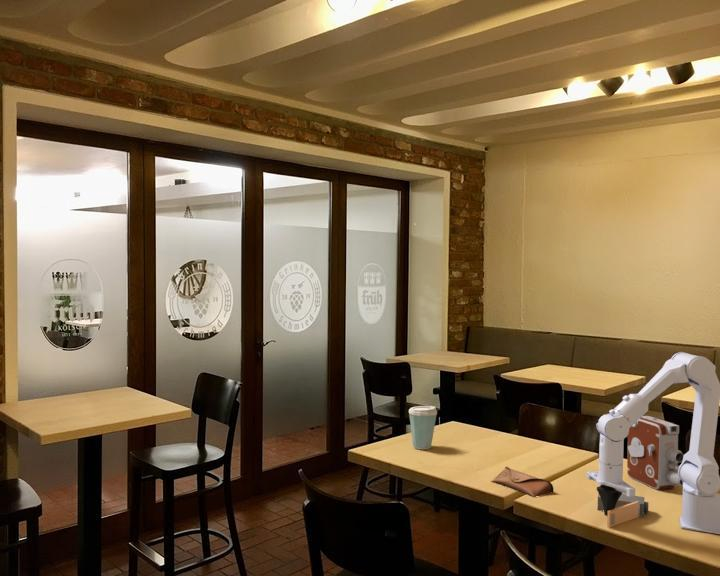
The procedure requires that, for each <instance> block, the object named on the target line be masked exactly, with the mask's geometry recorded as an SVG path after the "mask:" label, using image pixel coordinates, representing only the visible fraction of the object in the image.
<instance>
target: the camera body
mask: <svg viewBox="0 0 720 576" xmlns="http://www.w3.org/2000/svg"><path fill="white" fill-rule="evenodd" d="M597 495H598V496H597V511H600V510H604V507H603V503H602V500H601V497H600V495H599V493H598V494H597ZM636 501H640V517H639V518H645V514H649V502H648V501H645V496H639V495H635V496H633V497H628V496H626V494H624V493H622V495H621V496H620V498H619V499H618V501H617V503H616V506H615V508H618V507H621V506H624V505H627V504H630V503H633V502H636Z"/></svg>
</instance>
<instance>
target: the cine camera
mask: <svg viewBox="0 0 720 576" xmlns="http://www.w3.org/2000/svg"><path fill="white" fill-rule="evenodd" d="M679 434H680V425H678V424H675V423H674V422H669V421H667V420H663V419H659V418H658V417H653V416H649V415H643V416H642V417H641V418H640V419H638V420H637V421H636V422H635V423H634V424H633V425H632V426H631V427H630V428H629V433H628V436H627V458H626V460H627V461H626V462H627V463H626V464H627V465H626V468H627V469H626V470H627V471H626V472H627V475H628V477H629V478H631V479H632V480H635V481H637V482H638V483H641V484H643V485H645V486H647V485H648V487H650V488H651V489H654V490H666V489H674V488H676V486H678V487H679V486H680V487H683V481H681V479H680V478H679V476H678V469H679V466H680V465H679V463H682V461H683V456H684V455H685V454H683V452H682V451H681V450H679Z"/></svg>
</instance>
